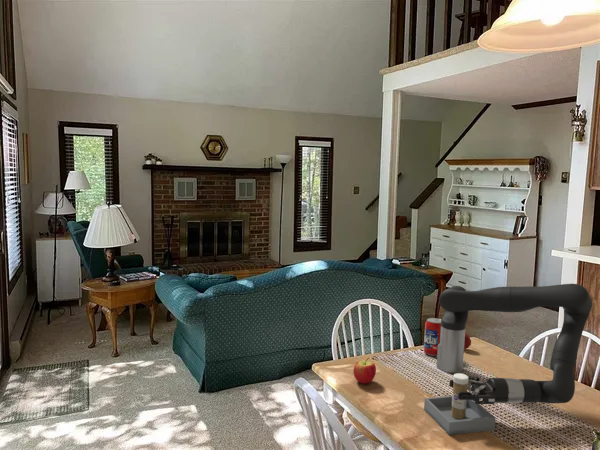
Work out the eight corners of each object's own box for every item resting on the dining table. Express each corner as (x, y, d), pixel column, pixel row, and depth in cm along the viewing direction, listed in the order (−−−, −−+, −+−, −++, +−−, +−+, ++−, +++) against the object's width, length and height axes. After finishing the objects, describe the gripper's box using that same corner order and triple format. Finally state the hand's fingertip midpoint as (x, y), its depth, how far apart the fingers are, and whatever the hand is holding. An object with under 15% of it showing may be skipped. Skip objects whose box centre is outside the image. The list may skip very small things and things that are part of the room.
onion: (471, 352, 212) (472, 335, 211) (457, 351, 213) (458, 333, 212) (469, 348, 217) (470, 330, 217) (456, 346, 219) (457, 329, 218)
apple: (365, 389, 175) (366, 362, 173) (348, 381, 181) (349, 355, 180) (380, 382, 180) (381, 357, 179) (362, 375, 186) (363, 350, 185)
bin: (448, 435, 145) (449, 422, 145) (423, 409, 160) (424, 398, 160) (494, 429, 149) (495, 417, 148) (466, 405, 164) (467, 394, 164)
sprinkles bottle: (448, 416, 154) (451, 375, 153) (454, 411, 158) (456, 371, 156) (462, 421, 152) (465, 380, 150) (468, 415, 155) (470, 375, 153)
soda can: (446, 355, 208) (448, 321, 207) (433, 358, 204) (435, 324, 202) (432, 349, 215) (434, 316, 213) (419, 352, 211) (421, 319, 209)
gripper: (496, 369, 160) (447, 368, 160) (515, 389, 146) (462, 388, 146) (495, 391, 161) (446, 390, 161) (514, 412, 147) (460, 411, 147)
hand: (453, 389), depth 153 cm, fingers open, 8 cm apart
